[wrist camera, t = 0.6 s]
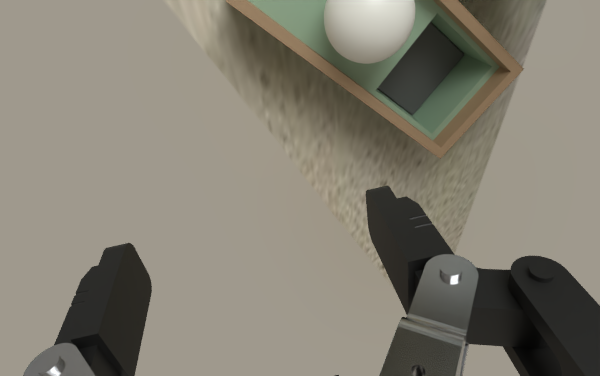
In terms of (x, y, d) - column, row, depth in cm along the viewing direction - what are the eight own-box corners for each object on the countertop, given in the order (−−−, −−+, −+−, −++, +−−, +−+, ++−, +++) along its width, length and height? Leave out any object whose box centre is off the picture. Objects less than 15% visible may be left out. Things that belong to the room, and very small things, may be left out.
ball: (351, -58, 27) (382, -58, 22) (410, -1, 29) (451, 11, 24) (298, 20, 29) (316, 37, 24) (359, 67, 31) (386, 91, 26)
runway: (296, -133, 28) (314, -149, 23) (482, 51, 37) (523, 68, 32) (224, -9, 31) (226, 1, 26) (412, 131, 40) (440, 158, 35)
